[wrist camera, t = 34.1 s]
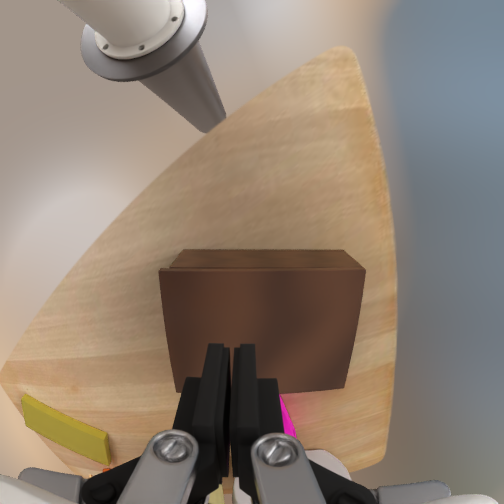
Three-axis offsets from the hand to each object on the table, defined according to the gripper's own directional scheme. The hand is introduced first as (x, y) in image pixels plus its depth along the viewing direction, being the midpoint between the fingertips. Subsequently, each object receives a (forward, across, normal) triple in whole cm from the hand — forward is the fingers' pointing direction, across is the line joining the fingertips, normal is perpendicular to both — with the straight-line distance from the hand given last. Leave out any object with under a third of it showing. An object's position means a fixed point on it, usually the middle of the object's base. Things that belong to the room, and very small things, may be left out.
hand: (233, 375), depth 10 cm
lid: (+18, -2, +10) cm, 21 cm away
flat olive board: (+25, +41, +43) cm, 65 cm away
